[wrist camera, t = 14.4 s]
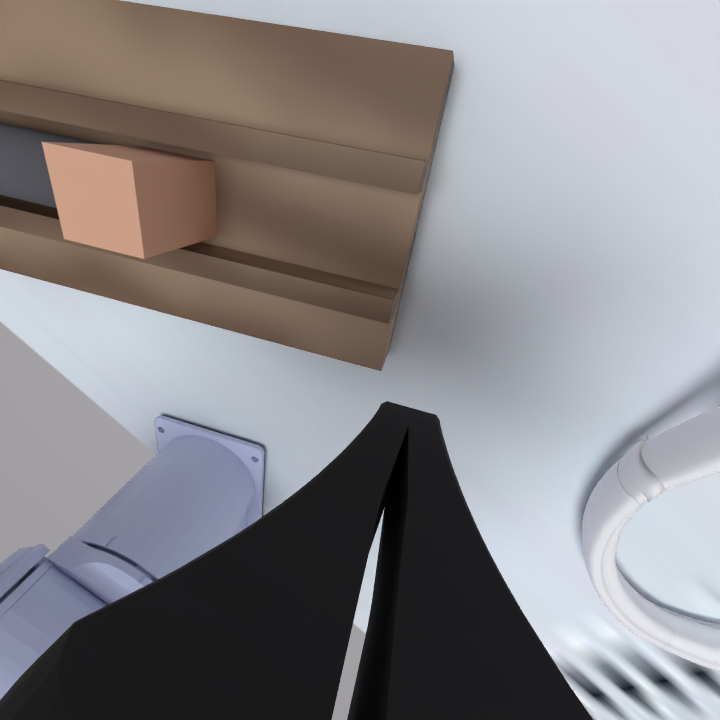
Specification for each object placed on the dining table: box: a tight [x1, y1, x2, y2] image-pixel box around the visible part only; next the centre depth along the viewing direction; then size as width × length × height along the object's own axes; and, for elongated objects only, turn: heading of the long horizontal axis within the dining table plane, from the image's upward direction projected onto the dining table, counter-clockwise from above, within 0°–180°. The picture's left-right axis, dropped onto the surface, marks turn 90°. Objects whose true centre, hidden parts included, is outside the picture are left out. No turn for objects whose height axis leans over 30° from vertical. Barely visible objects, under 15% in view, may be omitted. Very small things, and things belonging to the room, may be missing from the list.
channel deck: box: [0, 0, 454, 371], centre depth 16 cm, size 12×24×4 cm, turn 81°
